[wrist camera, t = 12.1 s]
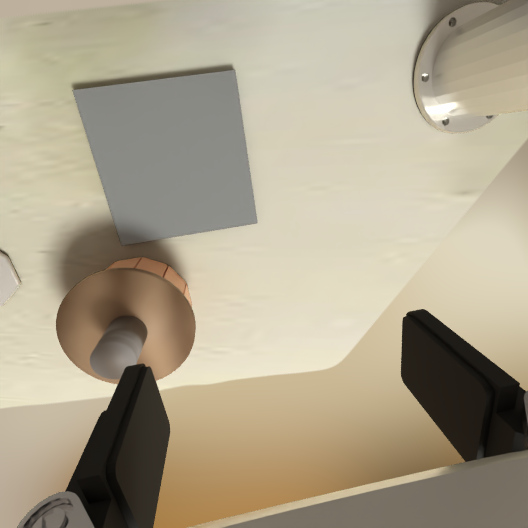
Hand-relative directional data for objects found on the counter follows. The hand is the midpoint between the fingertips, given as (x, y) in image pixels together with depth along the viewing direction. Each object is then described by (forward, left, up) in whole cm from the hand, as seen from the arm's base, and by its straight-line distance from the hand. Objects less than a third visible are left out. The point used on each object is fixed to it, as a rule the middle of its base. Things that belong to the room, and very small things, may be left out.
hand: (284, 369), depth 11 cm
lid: (+14, +9, -22) cm, 28 cm away
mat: (+6, -7, -28) cm, 30 cm away
